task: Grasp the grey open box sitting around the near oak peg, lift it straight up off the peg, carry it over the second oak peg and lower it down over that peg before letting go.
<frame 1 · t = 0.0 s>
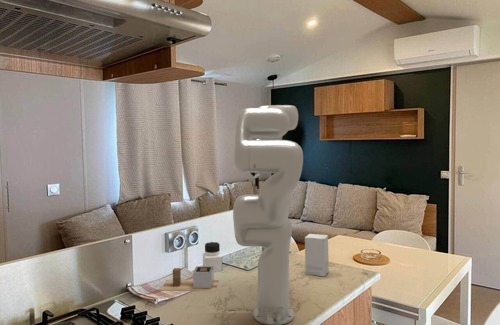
hand: (271, 188, 140), 37 cm above the counter, tool pointing down, fingers open, 9 cm apart
grey open box: (203, 285, 141), point 1 cm above the counter, touching peg board
peg board: (190, 287, 141), on the counter
medicine bottle: (212, 271, 159), on the counter
skincare box: (316, 273, 156), on the counter
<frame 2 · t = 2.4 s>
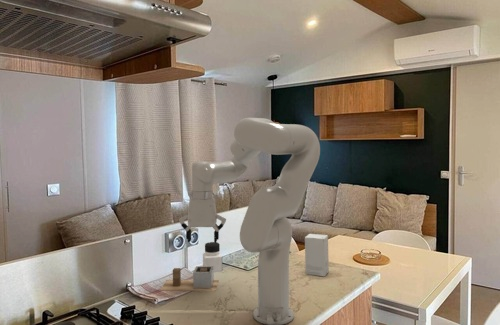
hand: (202, 241, 140), 17 cm above the counter, tool pointing down, fingers open, 9 cm apart
nothing on the counter moved.
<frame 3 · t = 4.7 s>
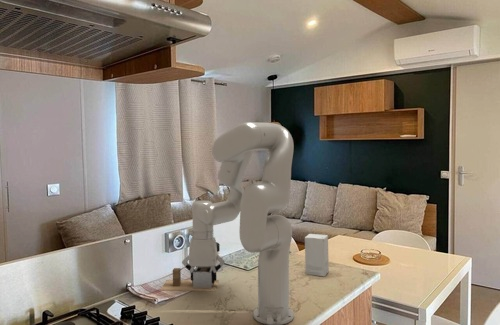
hand: (203, 281, 141), 2 cm above the counter, tool pointing down, fingers closed on grey open box, 6 cm apart
grey open box: (203, 285, 141), point 1 cm above the counter, touching gripper, peg board
everything else where it was.
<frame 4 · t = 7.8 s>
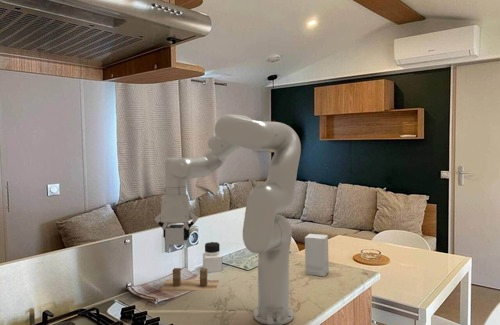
hand: (176, 239, 140), 18 cm above the counter, tool pointing down, fingers closed on grey open box, 6 cm apart
grey open box: (176, 242, 140), point 17 cm above the counter, touching gripper
everything else where it was.
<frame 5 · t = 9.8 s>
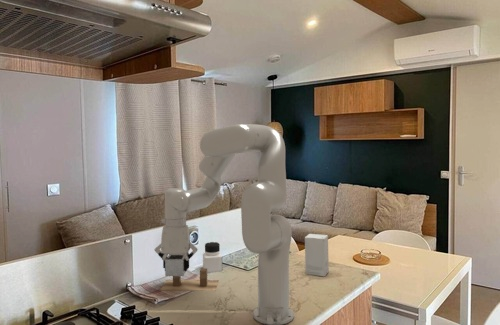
hand: (176, 269, 141), 7 cm above the counter, tool pointing down, fingers closed on grey open box, 6 cm apart
grey open box: (176, 272, 141), point 6 cm above the counter, touching gripper
everything else where it was.
when the fingers open (4 cm above the counter, at t = 11.3 s): grey open box drops 2 cm, resting on peg board.
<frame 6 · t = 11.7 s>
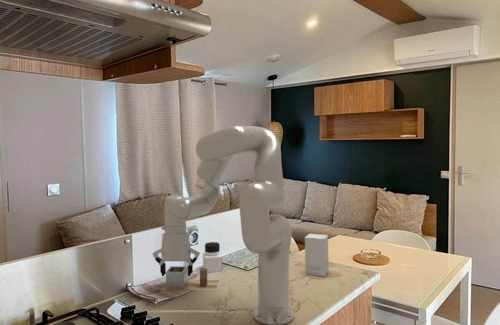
hand: (176, 274, 141), 5 cm above the counter, tool pointing down, fingers open, 9 cm apart
grey open box: (177, 285, 141), point 1 cm above the counter, touching peg board
everything else where it was.
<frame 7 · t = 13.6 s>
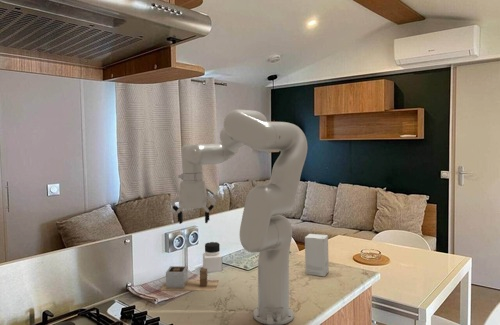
hand: (193, 222, 144), 24 cm above the counter, tool pointing down, fingers open, 9 cm apart
nothing on the counter moved.
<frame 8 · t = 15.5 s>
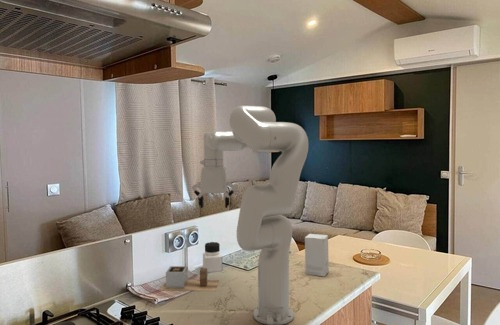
hand: (214, 207, 149), 28 cm above the counter, tool pointing down, fingers open, 9 cm apart
nothing on the counter moved.
at the end: grey open box 0.1 cm from the target spot on the peg board, point 1.0 cm above the peg board's base; the gripper is holding nothing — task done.
